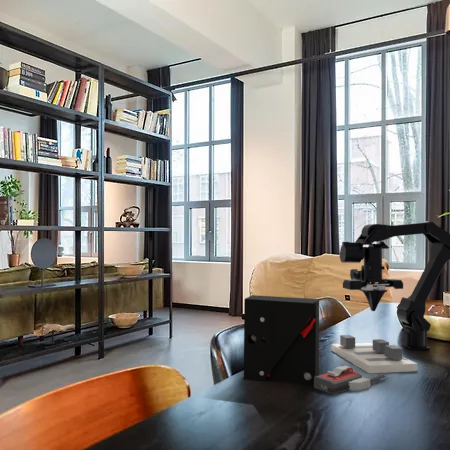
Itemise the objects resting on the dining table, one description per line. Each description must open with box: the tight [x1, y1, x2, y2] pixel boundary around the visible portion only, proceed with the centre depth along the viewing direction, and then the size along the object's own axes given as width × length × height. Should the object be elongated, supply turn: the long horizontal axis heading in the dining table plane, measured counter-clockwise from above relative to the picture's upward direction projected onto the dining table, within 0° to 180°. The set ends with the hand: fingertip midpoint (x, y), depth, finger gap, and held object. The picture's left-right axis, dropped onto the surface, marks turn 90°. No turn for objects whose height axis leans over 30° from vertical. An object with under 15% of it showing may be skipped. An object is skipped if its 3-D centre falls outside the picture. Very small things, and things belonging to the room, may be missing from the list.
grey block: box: [372, 338, 390, 353], centre depth 134 cm, size 3×4×3 cm
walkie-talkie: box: [313, 365, 386, 395], centre depth 111 cm, size 9×4×20 cm
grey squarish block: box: [385, 344, 403, 360], centre depth 127 cm, size 3×4×3 cm
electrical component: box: [243, 294, 320, 387], centre depth 116 cm, size 18×10×20 cm, turn 71°
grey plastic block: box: [339, 334, 356, 348], centre depth 139 cm, size 3×4×3 cm
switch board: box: [331, 342, 418, 374], centre depth 133 cm, size 14×24×2 cm, turn 10°
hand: (373, 311), depth 148 cm, fingers closed
